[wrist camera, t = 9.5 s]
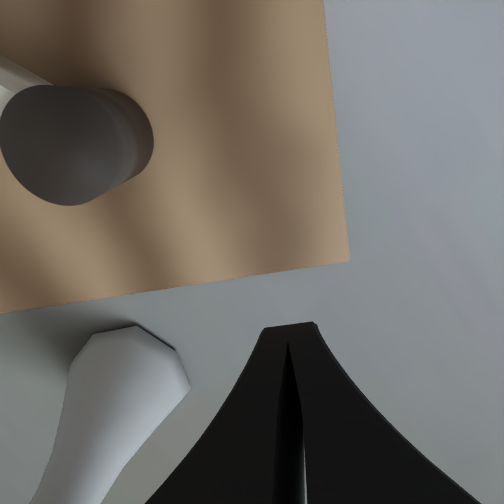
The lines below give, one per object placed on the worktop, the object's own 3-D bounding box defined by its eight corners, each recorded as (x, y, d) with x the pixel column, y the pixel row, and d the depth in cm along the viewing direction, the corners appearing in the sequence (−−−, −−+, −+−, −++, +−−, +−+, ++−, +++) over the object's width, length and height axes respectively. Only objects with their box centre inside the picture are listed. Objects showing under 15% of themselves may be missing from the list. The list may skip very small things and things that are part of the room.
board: (287, -302, 12) (288, -345, 11) (346, 253, 19) (351, 263, 18) (-215, -128, 15) (-258, -149, 13) (6, 305, 22) (-10, 317, 21)
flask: (52, 355, 23) (-93, 525, 14) (140, 305, 21) (39, 460, 12) (126, 429, 25) (42, 618, 16) (211, 389, 24) (171, 575, 14)
